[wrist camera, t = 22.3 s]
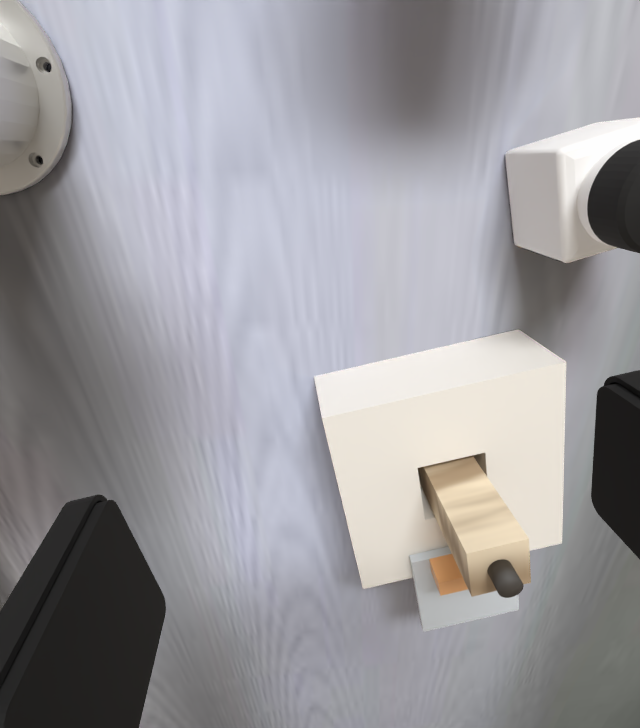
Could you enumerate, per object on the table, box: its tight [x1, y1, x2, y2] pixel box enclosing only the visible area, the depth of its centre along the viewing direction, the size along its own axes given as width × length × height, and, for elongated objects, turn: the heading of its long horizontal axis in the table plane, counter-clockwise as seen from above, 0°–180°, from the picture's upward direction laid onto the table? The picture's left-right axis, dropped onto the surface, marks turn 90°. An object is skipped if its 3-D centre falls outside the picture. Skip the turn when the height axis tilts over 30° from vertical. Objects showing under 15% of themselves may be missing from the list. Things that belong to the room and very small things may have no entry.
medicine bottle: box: [505, 118, 640, 263], centre depth 29 cm, size 7×7×12 cm
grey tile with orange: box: [409, 546, 519, 632], centre depth 39 cm, size 9×9×3 cm
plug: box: [418, 455, 531, 598], centre depth 34 cm, size 4×4×14 cm
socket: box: [314, 329, 566, 589], centre depth 40 cm, size 18×18×7 cm
